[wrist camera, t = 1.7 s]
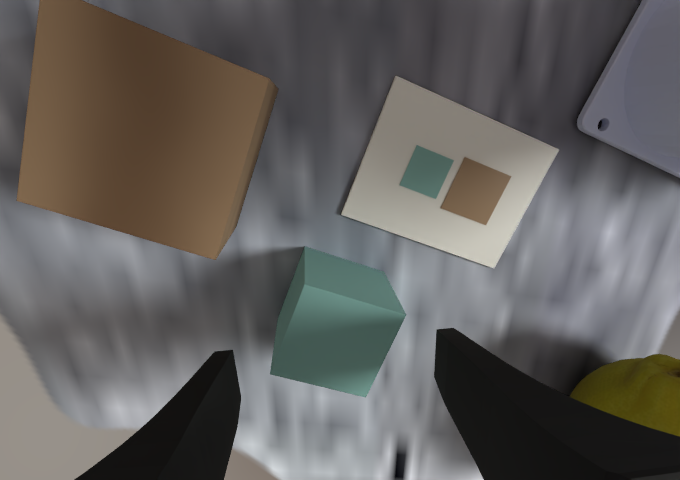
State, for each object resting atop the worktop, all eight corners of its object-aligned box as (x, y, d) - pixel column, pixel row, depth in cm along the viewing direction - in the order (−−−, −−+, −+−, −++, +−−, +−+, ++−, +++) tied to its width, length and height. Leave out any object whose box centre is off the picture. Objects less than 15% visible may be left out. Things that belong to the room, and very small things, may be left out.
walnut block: (278, 89, 14) (269, 78, 10) (236, 226, 16) (215, 260, 12) (119, 23, 13) (41, -17, 9) (92, 179, 14) (16, 200, 11)
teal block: (383, 271, 17) (406, 314, 13) (353, 339, 18) (365, 397, 14) (304, 245, 16) (304, 284, 12) (277, 318, 17) (270, 374, 13)
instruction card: (556, 149, 16) (560, 149, 15) (491, 266, 17) (494, 268, 17) (394, 76, 14) (396, 75, 14) (341, 213, 16) (341, 215, 15)
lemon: (631, 451, 23) (794, 616, 15) (517, 465, 22) (627, 643, 15) (681, 304, 19) (925, 424, 12) (546, 314, 19) (712, 448, 11)
